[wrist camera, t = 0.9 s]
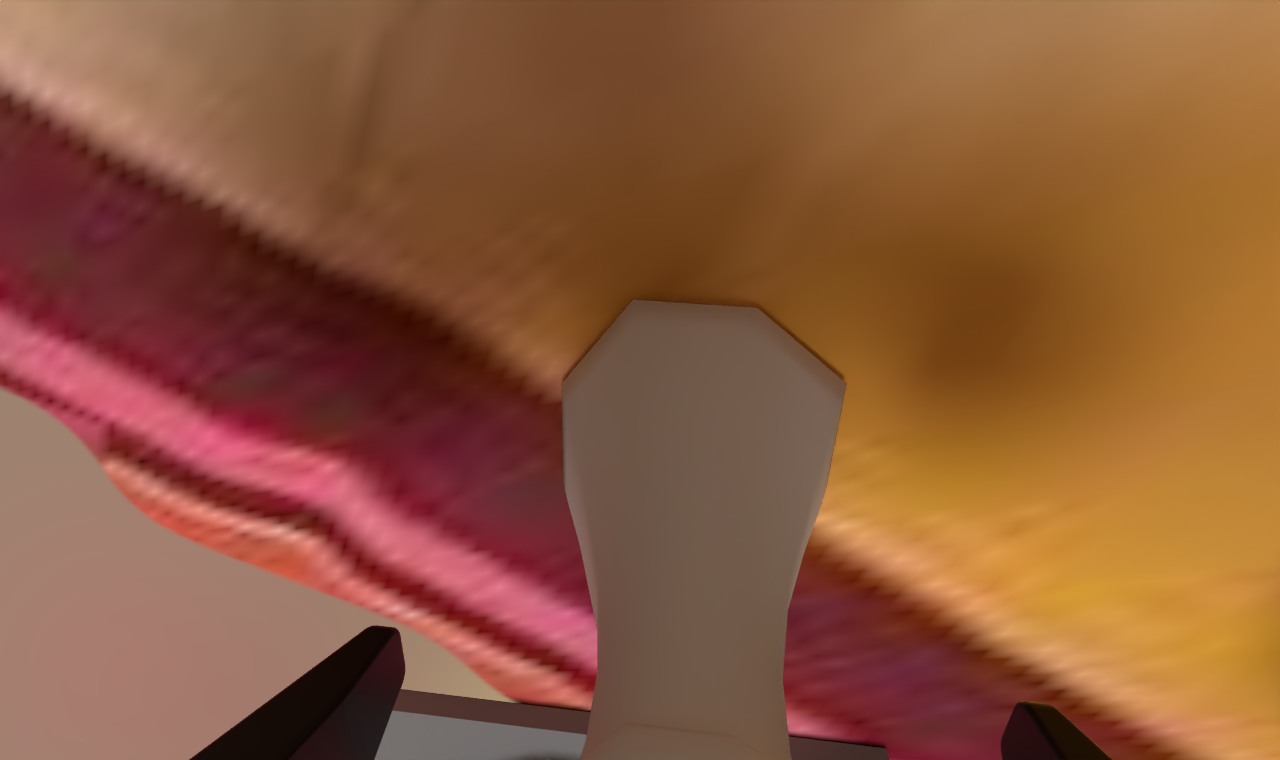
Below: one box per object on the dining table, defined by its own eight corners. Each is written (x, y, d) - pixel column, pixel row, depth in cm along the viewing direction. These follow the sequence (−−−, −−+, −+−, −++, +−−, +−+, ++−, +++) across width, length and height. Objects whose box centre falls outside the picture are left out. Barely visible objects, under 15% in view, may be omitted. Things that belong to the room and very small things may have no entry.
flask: (764, 576, 18) (824, 1081, 9) (525, 488, 17) (320, 920, 8) (897, 360, 15) (1207, 786, 6) (611, 246, 14) (437, 506, 5)
